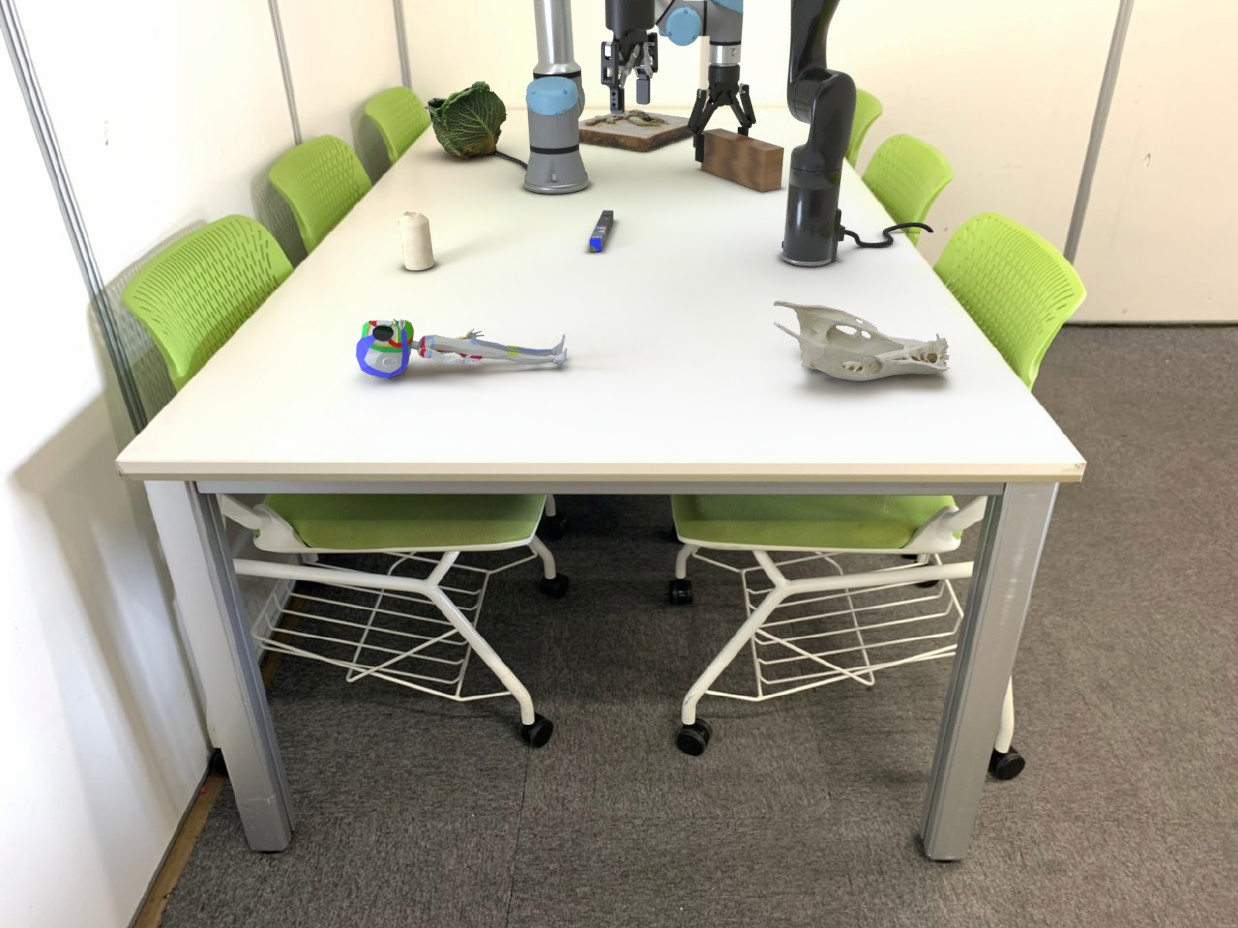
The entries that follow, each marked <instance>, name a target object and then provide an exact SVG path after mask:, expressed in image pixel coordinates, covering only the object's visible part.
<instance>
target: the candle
mask: <svg viewBox="0 0 1238 928" xmlns="http://www.w3.org/2000/svg"><path fill="white" fill-rule="evenodd" d="M397 224H398V232H399V238H400V244H401V251H402V257H403V258H402V259H403V264H404V267H405V269H407V270H410V271H422V270H423V271H424V270H427V269H431V268H432V267H433V266H434V265H435V259H434V252H433V250H434V249H433V244H432V236H431V228H430V227H431V226H430V220H429V218H428V217H427V216H425V215H424V214H423V213H421V212H414V211H405V213H403V214H402V215H401V217H400V218H399V220H398V221H397Z"/></svg>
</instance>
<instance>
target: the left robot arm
mask: <svg viewBox="0 0 1238 928" xmlns="http://www.w3.org/2000/svg"><path fill="white" fill-rule="evenodd" d="M532 2H533V11H534V26H535V37H536V49H537V64H536V65H535V66H534V67H533V68H532V78H533V80H532V81H530V82H529V83H528V85H527V86H526V91H525V93H526V94H525V103H526V110H527V111H526V112H527V125H528V126H527V127H528V140H529V141H528V142H529V157H528V162H527V163H526V162H525V161H523V160H521V159H519V158H516V157H513V156H511V155H509V154H506V153H503V152H501V151H499V150H498V149H497V150H496V151H495V155H498V156H500V157H503V158H504V159H507V160H509V161H512V162H515V163H517V164H520V165H521V166H522V167H524V168H525V169H526V172H525V175H524V178H523V183H524V188H525V189H526V190H527V191H530V192H531V193H535V194H536V193H537V194H543V195H544V194H545V195H562V194H570V193H576V192H579V191H583V190H584V189H586V188H587V187H589V175H588V173H587V171H586V168H585V164H584V161H583V158H582V156H581V153H580V141H579V125H578V122H579V119H580V118H581V116H582V114H583V113H584V110H585V105H586V94H585V91H584V90H585V89H584V88H583V75H582V67H581V65H580V64H579V63H578V62H577V61H576V60H575V49H574V48H575V47H574V33H573V31H574V30H573V19H572V18H573V17H572V16H573V15H572V2H571V0H532ZM743 23H744V0H655V26H656V27H657V29H658V30H657V31H658V35H659V36H660V37H666V38H668V40H669V41H670V42H671V43H672V44H674V45H675V46H678V47H687V46H689V45H692V44H693V43H695V41H697V40H698V38H699V37H709V38H708V39H709V40H708V41H709V42H708V63H709V65H708V66H707V81H708V87H707V89H703V88H698V89H697V90H696V97H695V101H694V104H693V106H692V107H693V108H692V110H691V113H690V115H689V118H690V119H689V122H688V125H687V128H686V130H687V131H688V132H691V133H693V135H692V147H693V148H694V161H695V162H698V163H700V164H701V163H703V162H704V139H705V135H704V134H702V132H703V130H704V131H705V130H706V129H705V128H706V127H707V125H708V124H709V122H710V119H712V116H713V115H714V114H715V112H716V111H717V110H718V109H719V108H720V107H724V106H727V107H728V106H729V108H730V109H731V110H732V112H733V114H734V116H735V118H736V119H737V121H738V123H739V125H740V126H737V132H736V133H738V134H741V135H744V136H748V137H749V134H750V133H749V131H750V129H752V127H753V125H755V124H756V123H757V119H756V114H755V111H754V107H753V103H752V99H751V96H750V85H749V84H747V83H743V82H741V83H740V84H739V81H740V80H741V65H740V64H739V63H740V62H741V59H742V58H741V57H742V42H743V41H742V40H743V27H744V26H743ZM737 95H739V99H740V101H739V99H738V97H737ZM740 102H741V104H740ZM741 106H742V107H741Z"/></svg>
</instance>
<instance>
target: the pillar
mask: <svg viewBox="0 0 1238 928" xmlns="http://www.w3.org/2000/svg"><path fill="white" fill-rule="evenodd" d="M614 216H615V215H614V210H613V209H612V210H611V209H602V212H601V214H600V216H599V219H598V221H597V222H596V225H595V227H594V229H593V231H592V234H591V236H590V237H589V241H588V243H589V244H588V245H589V246H588V247H589V248H588V250H589V252H601V251H602V249H603V247H604V245H605V242H606V239H607V237H608V235H609V232H610V231H611V228H612V226H613V223H614Z"/></svg>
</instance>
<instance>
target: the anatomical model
mask: <svg viewBox="0 0 1238 928" xmlns="http://www.w3.org/2000/svg"><path fill="white" fill-rule="evenodd" d="M773 307H783V308H784V307H785V308H788V309H792V310H793V311H794V312H795V313H796V319H797V321H798V324H799V331H800V332H799V333H800V334H798V333H796V332H795V331H792V330H791V329H789V328H788V327H786V326H784V325H782V324H781V323H779V322H777V321H774V322H773V325H774V326H775V327H777V328H778V329H780V330H782V331H783V332H785V333H786V334H787V335H789V336H791V337H793V338H794V339H796V340H797V342H798V344H799V345H798V347H799V350H800V354H801V360H802V361H801V367H803V368H808V369H813V370H817V371H821V372H823V373H825V374H827V375H829V376H830V377H833V378H835V379H841V380H847V381H854V382H857V381H858V382H861V381H864V382H865V381H872V380H876V379H882V378H886V377H890V376H891V377H892V376H898V375H909V374H915V375H916V374H917V375H919V374H920V375H929V374H931V375H932V374H933V375H934V374H939V373H943V372H947V371H949V370H951V369H952V367H950V366H947V361H950V355H949V354H947V353H948V351H947V349H948V348H949V347H950V346H949V345H948V341H947V339H946V337H940V334H939V333H936V334H935V336H936V340H929V339H928V341H922V340H919V339H914V338H905V337H904V338H903V337H896V336H889V335H887V334H885V333H883V332H881V331H879V330H878V328H877V326H875V325H874V324H873V323H871V322H870V321H868V320H866V319H863V318H861V317H860V316H857V315H854V314H852V313H850V312H847V311H845V310H841V309H838V308H835V307H830V306H827V305H822V304H799V303H795V302H788V301H783V300H775V301H774V302H773ZM859 321H860V322H861V323H860V322H859ZM839 326H840V327H841V326H842V327H849V328H852V329H854V330H856V331H855V332H854V333H853V334H852V333H847V332H845V331H844V330H842V329H839V328H838V327H839ZM862 332H866V333H867V334H868V335H869V337H867V336H864V335H863V333H862Z"/></svg>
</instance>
